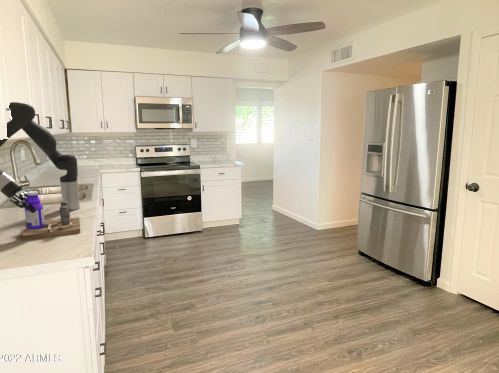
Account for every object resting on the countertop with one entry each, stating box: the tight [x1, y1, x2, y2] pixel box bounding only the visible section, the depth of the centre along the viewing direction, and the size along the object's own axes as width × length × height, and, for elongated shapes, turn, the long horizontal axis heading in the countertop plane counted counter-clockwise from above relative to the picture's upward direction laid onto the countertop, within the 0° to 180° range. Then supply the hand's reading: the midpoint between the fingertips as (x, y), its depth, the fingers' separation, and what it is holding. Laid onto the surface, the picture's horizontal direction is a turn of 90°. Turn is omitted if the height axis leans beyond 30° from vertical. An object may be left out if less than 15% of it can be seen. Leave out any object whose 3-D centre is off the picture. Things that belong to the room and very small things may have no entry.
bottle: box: [24, 190, 45, 229], centre depth 156 cm, size 7×6×17 cm
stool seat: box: [19, 201, 81, 241], centre depth 165 cm, size 24×24×12 cm
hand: (38, 210), depth 156 cm, fingers closed on bottle, 5 cm apart
